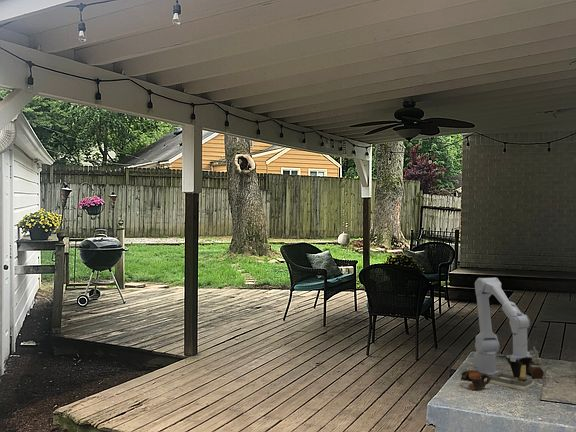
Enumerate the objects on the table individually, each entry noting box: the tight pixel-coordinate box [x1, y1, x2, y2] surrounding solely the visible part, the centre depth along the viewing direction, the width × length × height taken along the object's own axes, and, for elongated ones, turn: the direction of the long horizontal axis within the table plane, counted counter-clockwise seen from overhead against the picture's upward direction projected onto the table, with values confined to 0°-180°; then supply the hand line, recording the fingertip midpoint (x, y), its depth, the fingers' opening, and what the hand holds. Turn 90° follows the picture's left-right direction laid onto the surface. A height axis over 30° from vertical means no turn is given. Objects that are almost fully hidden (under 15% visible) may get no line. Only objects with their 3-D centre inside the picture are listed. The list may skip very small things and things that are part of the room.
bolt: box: [527, 364, 545, 380], centre depth 247 cm, size 6×5×15 cm
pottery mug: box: [460, 369, 491, 391], centre depth 228 cm, size 12×10×8 cm
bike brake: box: [496, 346, 542, 364], centre depth 271 cm, size 14×7×20 cm
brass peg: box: [516, 364, 527, 382], centre depth 229 cm, size 4×4×8 cm
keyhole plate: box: [489, 372, 535, 391], centre depth 233 cm, size 15×11×2 cm
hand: (520, 375), depth 230 cm, fingers open, 7 cm apart
